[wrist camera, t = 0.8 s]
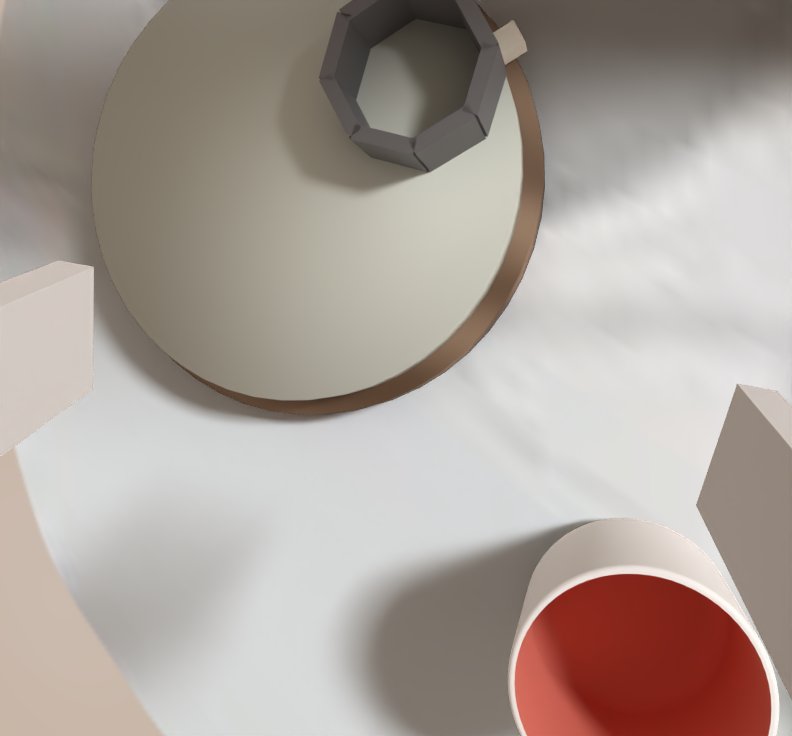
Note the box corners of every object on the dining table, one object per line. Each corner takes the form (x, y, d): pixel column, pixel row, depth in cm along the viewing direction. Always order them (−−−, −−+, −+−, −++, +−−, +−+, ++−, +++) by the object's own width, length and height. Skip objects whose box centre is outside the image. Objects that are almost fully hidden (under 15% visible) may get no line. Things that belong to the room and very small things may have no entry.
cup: (512, 675, 40) (487, 778, 30) (545, 493, 39) (531, 539, 30) (709, 731, 38) (750, 862, 28) (749, 537, 37) (805, 603, 27)
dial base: (253, -110, 43) (235, -135, 41) (641, 93, 38) (644, 77, 36) (57, 268, 47) (31, 264, 44) (386, 498, 42) (374, 507, 39)
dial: (222, 470, 41) (170, 486, 36) (52, 113, 44) (-20, 81, 39) (635, 249, 36) (643, 231, 31) (415, -149, 38) (388, -227, 33)
